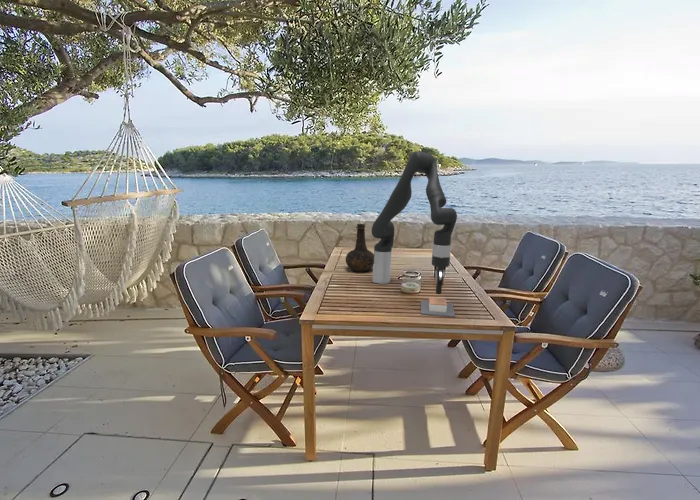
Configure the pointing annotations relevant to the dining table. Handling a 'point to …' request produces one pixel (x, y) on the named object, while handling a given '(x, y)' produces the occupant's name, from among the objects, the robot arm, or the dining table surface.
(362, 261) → the glass bottle
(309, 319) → the dining table surface
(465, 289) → the dining table surface
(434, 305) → the white block copper side
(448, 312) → the mat
